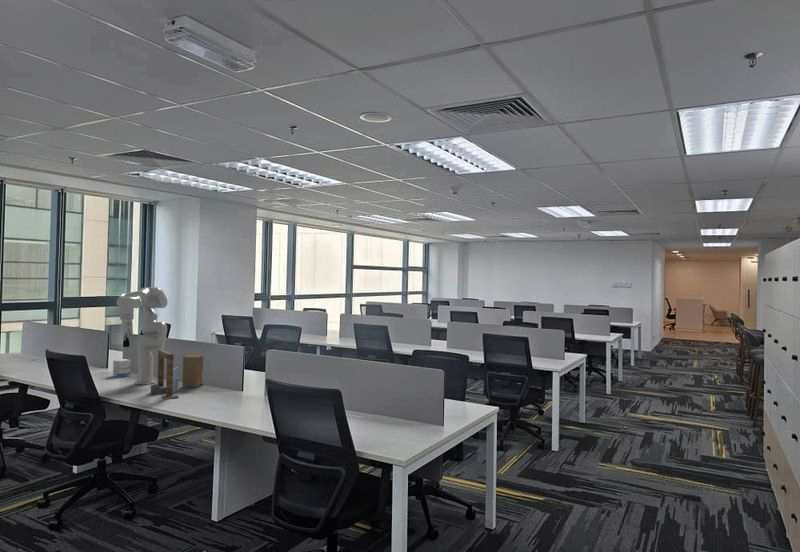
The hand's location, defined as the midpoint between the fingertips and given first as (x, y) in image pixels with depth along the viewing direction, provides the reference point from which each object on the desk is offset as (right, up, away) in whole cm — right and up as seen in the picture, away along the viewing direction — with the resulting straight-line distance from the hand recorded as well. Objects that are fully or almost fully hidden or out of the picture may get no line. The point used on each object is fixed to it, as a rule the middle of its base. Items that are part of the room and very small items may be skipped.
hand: (126, 346), depth 331 cm
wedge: (+19, -30, +6) cm, 36 cm away
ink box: (-32, -29, +57) cm, 72 cm away
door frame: (+23, -30, +3) cm, 37 cm away
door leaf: (+28, -29, +4) cm, 40 cm away
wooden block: (+30, -30, +29) cm, 51 cm away
